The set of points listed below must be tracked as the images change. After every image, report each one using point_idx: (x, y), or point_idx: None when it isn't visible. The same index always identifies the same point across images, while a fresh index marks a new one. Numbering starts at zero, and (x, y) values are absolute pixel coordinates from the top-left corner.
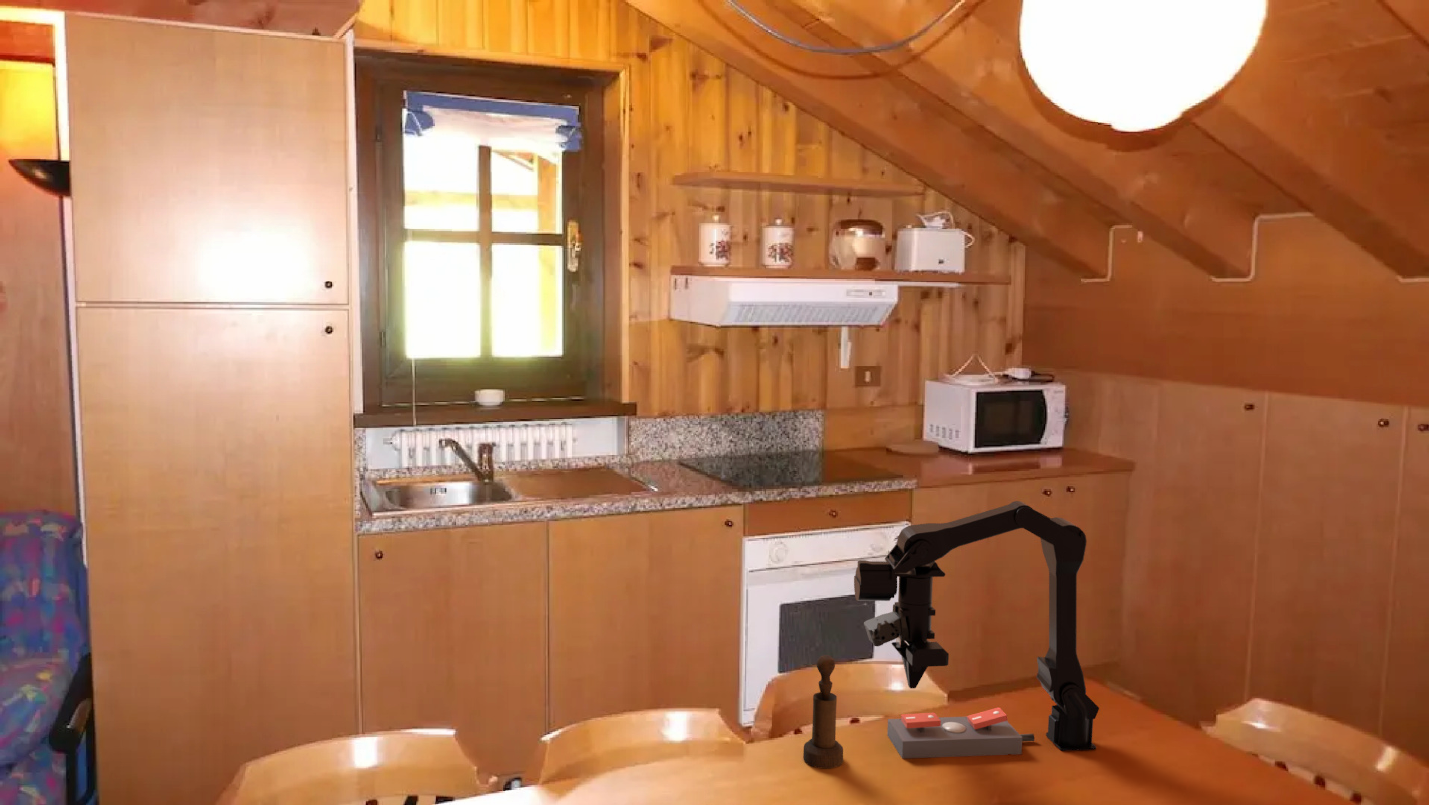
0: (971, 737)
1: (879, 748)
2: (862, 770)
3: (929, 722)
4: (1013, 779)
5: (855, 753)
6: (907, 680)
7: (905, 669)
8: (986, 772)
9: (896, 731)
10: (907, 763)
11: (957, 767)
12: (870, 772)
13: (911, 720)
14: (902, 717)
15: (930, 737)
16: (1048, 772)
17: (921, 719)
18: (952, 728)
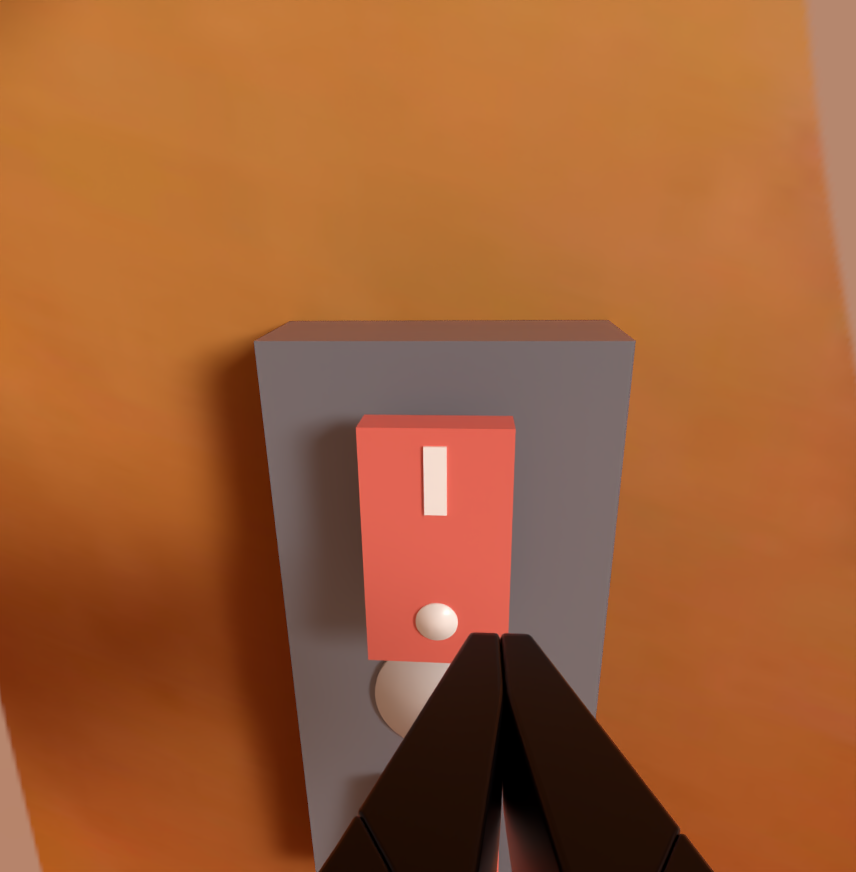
0: (317, 731)
1: (431, 215)
2: (119, 6)
3: (364, 584)
4: (116, 729)
5: (364, 14)
6: (540, 676)
7: (585, 807)
8: (167, 660)
9: (413, 343)
10: (234, 334)
11: (205, 564)
12: (98, 60)
13: (390, 473)
14: (474, 426)
15: (318, 532)
16: (189, 853)
17: (402, 548)
18: (421, 685)
